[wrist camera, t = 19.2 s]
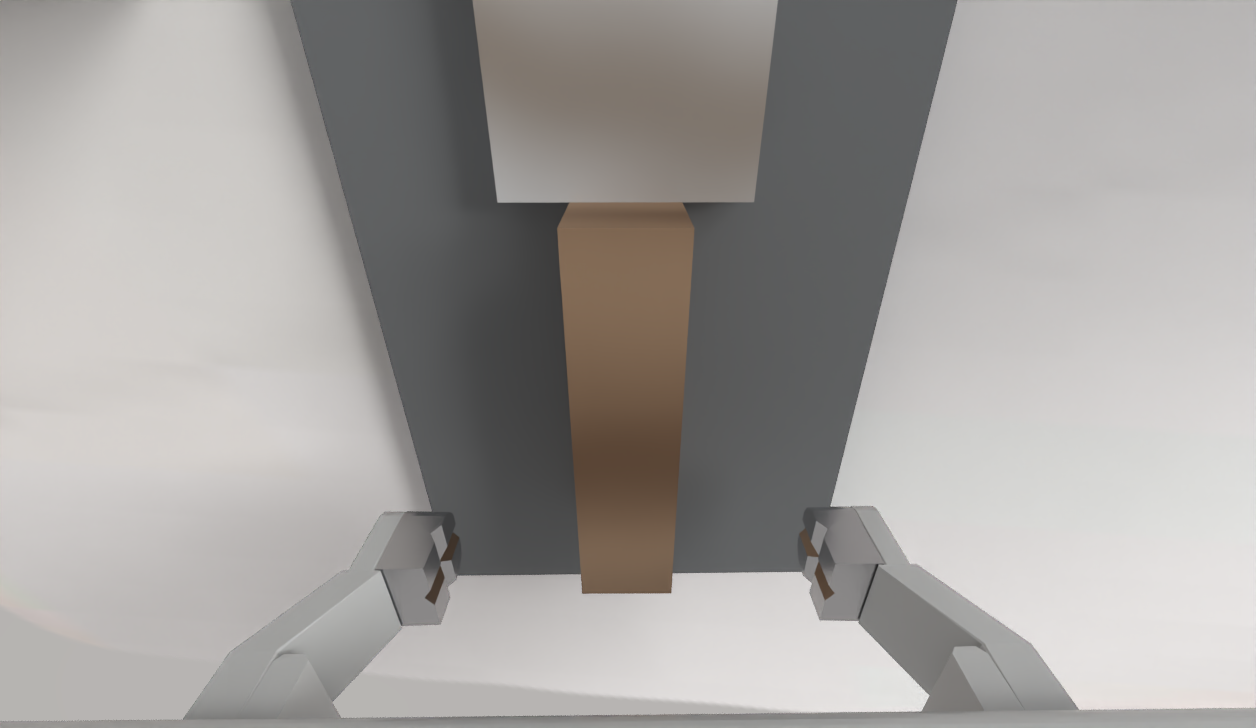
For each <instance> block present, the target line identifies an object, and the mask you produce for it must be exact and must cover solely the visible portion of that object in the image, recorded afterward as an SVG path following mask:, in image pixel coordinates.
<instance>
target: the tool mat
mask: <svg viewBox="0 0 1256 728" xmlns="http://www.w3.org/2000/svg"><path fill="white" fill-rule="evenodd" d="M291 4H292V7H293V11H294V14H295V18H296V22H297V25H298V29H299V32H300V36H301V40H302V43H303V47H304V50H305V54H306V58H307V61H308V65H309V68H310V72H311V76H312V79H313V83H314V86H315V90H316V94H317V97H318V101H319V105H320V108H321V112H322V115H323V119H324V123H325V126H326V130H327V133H328V137H329V141H330V144H331V148H332V151H333V155H334V159H335V162H336V166H337V169H338V173H339V177H340V180H341V184H342V187H343V191H344V195H345V198H346V202H347V205H348V209H349V213H350V216H351V220H352V223H353V227H354V231H355V234H356V238H357V242H358V245H359V249H360V252H361V256H362V260H363V263H364V267H365V270H366V274H367V278H368V281H369V285H370V288H371V292H372V296H373V299H374V303H375V306H376V310H377V314H378V317H379V321H380V324H381V328H382V332H383V335H384V339H385V342H386V346H387V350H388V353H389V357H390V360H391V364H392V368H393V371H394V375H395V379H396V382H397V386H398V389H399V393H400V397H401V400H402V404H403V407H404V411H405V415H406V418H407V422H408V425H409V429H410V433H411V436H412V440H413V443H414V447H415V451H416V454H417V458H418V461H419V465H420V469H421V472H422V476H423V479H424V483H425V487H426V490H427V494H428V497H429V501H430V505H431V508H432V512H451V513H453V515H454V519H455V522H456V525H455V527H454V530H453V532H454V533H455V534H456V535H457V536H458V537H459V538H460V542H461V550H462V556H461V564H460V569H459V572H458V575H545V574H581V567H580V552H579V538H578V523H577V509H576V495H575V480H574V466H573V451H572V437H571V422H570V408H569V393H568V379H567V364H566V350H565V335H564V321H563V306H562V292H561V277H560V263H559V248H558V234H557V227H558V225H559V223H560V221H561V219H562V217H563V215H564V213H565V211H566V209H567V206H568V204H569V202H559V203H498V202H497V194H496V186H495V178H494V170H493V162H492V154H491V146H490V138H489V130H488V122H487V113H486V105H485V97H484V89H483V81H482V73H481V65H480V57H479V49H478V41H477V33H476V25H475V16H474V8H473V0H291ZM956 4H957V0H778V4H777V12H776V21H775V29H774V38H773V46H772V55H771V63H770V72H769V80H768V88H767V97H766V105H765V114H764V122H763V131H762V139H761V147H760V156H759V164H758V173H757V181H756V190H755V198H754V202H682V203H683V205H684V207H685V209H686V211H687V213H688V215H689V218H690V220H691V222H692V224H693V226H694V244H693V260H692V275H691V291H690V306H689V322H688V338H687V353H686V369H685V385H684V400H683V416H682V431H681V447H680V463H679V478H678V494H677V510H676V525H675V541H674V556H673V572H672V573H726V572H802V570H801V567H800V564H799V559H798V550H797V543H798V537H799V533H800V532H801V531H803V530H804V529H805V526H804V523H803V520H802V518H803V514H804V511H805V510H806V508H807V507H830V505H831V501H832V497H833V493H834V489H835V485H836V481H837V477H838V473H839V469H840V465H841V461H842V457H843V453H844V449H845V445H846V441H847V437H848V433H849V429H850V425H851V421H852V417H853V413H854V409H855V405H856V401H857V397H858V393H859V389H860V385H861V381H862V377H863V374H864V370H865V366H866V362H867V358H868V354H869V350H870V346H871V342H872V338H873V334H874V330H875V326H876V322H877V318H878V314H879V310H880V306H881V302H882V298H883V294H884V290H885V286H886V282H887V278H888V274H889V270H890V266H891V262H892V258H893V254H894V250H895V246H896V242H897V238H898V234H899V231H900V227H901V223H902V219H903V215H904V211H905V207H906V203H907V199H908V195H909V191H910V187H911V183H912V179H913V175H914V171H915V167H916V163H917V159H918V155H919V151H920V147H921V143H922V139H923V135H924V131H925V127H926V123H927V119H928V115H929V111H930V107H931V103H932V99H933V95H934V92H935V88H936V84H937V80H938V76H939V72H940V68H941V64H942V60H943V56H944V52H945V48H946V44H947V40H948V36H949V32H950V28H951V24H952V20H953V16H954V12H955V8H956Z"/></svg>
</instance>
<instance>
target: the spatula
mask: <svg viewBox="0 0 1256 728" xmlns="http://www.w3.org/2000/svg"><path fill="white" fill-rule="evenodd" d="M777 4H778V0H473V8H474V16H475V25H476V33H477V41H478V49H479V57H480V65H481V73H482V81H483V89H484V97H485V105H486V113H487V122H488V130H489V138H490V146H491V154H492V162H493V170H494V178H495V186H496V194H497V202H498V203H559V202H569V204H568V206H567V209H566V211H565V213H564V215H563V217H562V219H561V221H560V223H559V225H558V227H557V234H558V248H559V263H560V277H561V292H562V306H563V321H564V335H565V350H566V364H567V379H568V393H569V408H570V422H571V437H572V451H573V466H574V480H575V495H576V509H577V523H578V538H579V552H580V567H581V581H582V594H588V593H671V588H672V572H673V556H674V541H675V525H676V510H677V494H678V478H679V463H680V447H681V431H682V416H683V400H684V385H685V369H686V353H687V338H688V322H689V306H690V291H691V275H692V260H693V244H694V226H693V224H692V222H691V220H690V218H689V215H688V213H687V211H686V209H685V207H684V205H683V203H682V202H754V198H755V190H756V181H757V173H758V164H759V156H760V147H761V139H762V131H763V122H764V114H765V105H766V97H767V88H768V80H769V72H770V63H771V55H772V46H773V38H774V29H775V21H776V12H777Z"/></svg>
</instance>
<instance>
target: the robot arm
mask: <svg viewBox="0 0 1256 728" xmlns="http://www.w3.org/2000/svg"><path fill="white" fill-rule="evenodd" d="M802 520H803V523H804V526H805V529H804V530H803V531H801V532H800V533H799V537H798V543H797V550H798V559H799V564H800V567H801V570H802V573H803V576H804V577H806V578H807V579H808V580H809V581H810V582H811V583H812V585H811V589H810V596H811V598H812V601H813V604H814V606H815V609H816V612H817V614H818V617H819V620H838V621H859V622H858V623H859V624H860V625H861V626H862V627H863V628H864V629H865V630H866V631H867V632H868V633H869V634H870V635H871V636H872V637H873V638H874V639H875V640H876V641H877V642H878V643H879V644H880V645H881V646H882V647H883V648H884V649H885V650H886V652H887V653H888V654H889V655H890V656H891V657H892V658H893V659H894V660H895V661H896V662H897V663H898V664H899V665H900V666H901V667H902V668H903V669H904V670H905V671H906V672H907V673H908V674H909V675H910V676H911V677H912V678H913V679H914V680H915V681H916V682H917V683H918V684H919V685H920V686H921V687H922V688H923V689H924V690H925V691H926V692H927V693H928V694H929V695H930V696H929V698H928V700H927V702H926V704H925V706H924V708H923V710H922V712H838V713H752V714H751V713H749V714H664V715H663V714H662V715H661V714H660V715H579V716H578V715H574V716H486V717H484V716H483V717H390V718H341V717H340V715H339V713H338V712H337V710H336V708H335V706H334V705H333V703H332V702H333V701H334V700H335V699H336V698H337V697H338V696H339V694H340V693H341V692H342V691H343V690H344V689H345V688H346V687H347V686H348V685H349V684H350V683H351V681H353V680H354V679H355V678H356V676H357V675H358V674H359V673H360V672H361V671H362V670H363V669H364V668H365V667H366V666H367V665H368V664H369V663H370V662H371V661H372V660H373V658H374V657H375V656H376V655H377V654H378V653H379V652H380V651H381V650H382V649H383V648H384V647H385V646H386V645H387V644H388V643H389V642H390V640H391V639H392V638H393V637H394V636H395V635H396V634H397V633H398V632H399V631H400V630H401V629H402V626H413V625H438V624H441V622H442V619H443V616H444V613H445V611H446V608H447V605H448V602H449V599H450V594H449V591H448V586H449V585H450V584H452V583H453V582H454V581H455V580H456V579H457V575H458V572H459V569H460V564H461V556H462V550H461V542H460V538H459V537H458V536H457V535H456V534H455V533H454V532H453V530H454V527H455V525H456V522H455V519H454V515H453V513H451V512H413V511H407V512H384V513H383V514H382V515H381V516H380V517H379V518H378V520H377V522H376V524H375V525H374V527H373V529H372V531H371V532H370V534H369V536H368V537H367V539H366V541H365V543H364V544H363V546H362V548H361V550H360V551H359V553H358V555H357V557H356V558H355V560H354V562H353V564H352V565H351V567H350V569H349V571H341V572H340V573H338V574H337V575H336V576H334V577H333V578H331V579H330V580H329V581H327V582H326V583H324V584H323V585H322V586H320V587H319V588H318V589H316V590H315V591H313V592H312V593H311V594H309V595H308V596H307V597H305V598H304V599H302V600H301V601H300V602H298V603H297V604H296V605H294V606H293V607H291V608H290V609H289V610H287V611H286V612H285V613H283V614H282V615H280V616H279V617H278V618H276V619H275V620H273V621H272V622H271V623H269V624H268V625H267V626H265V627H264V628H262V629H261V630H260V631H258V632H257V633H256V634H254V635H253V636H251V637H250V638H249V639H247V640H246V641H245V642H243V643H242V644H240V645H239V646H238V647H236V648H235V649H234V650H232V651H231V652H230V653H229V654H228V655H227V657H226V658H225V660H224V661H223V663H222V664H221V665H220V667H219V668H218V670H217V671H216V673H215V674H214V675H213V677H212V678H211V680H210V681H209V683H208V684H207V685H206V687H205V688H204V690H203V691H202V693H201V694H200V696H199V697H198V698H197V700H196V701H195V703H194V704H193V706H192V707H191V708H190V710H189V711H188V713H187V714H186V715H185V717H184V718H183V720H101V721H100V720H99V721H0V728H1256V708H1197V709H1112V710H1079V709H1078V707H1077V706H1076V705H1075V703H1074V702H1073V701H1072V699H1071V698H1070V696H1069V695H1068V694H1067V692H1066V691H1065V689H1064V688H1063V687H1062V685H1061V684H1060V683H1059V681H1058V680H1057V678H1056V677H1055V676H1054V674H1053V673H1052V672H1051V670H1050V669H1049V667H1048V666H1047V665H1046V663H1045V662H1044V660H1043V659H1042V658H1041V656H1040V655H1039V654H1038V652H1037V651H1036V649H1035V648H1034V647H1033V645H1032V644H1031V643H1029V642H1028V641H1026V640H1025V639H1023V638H1022V637H1021V636H1019V635H1018V634H1016V633H1015V632H1013V631H1012V630H1011V629H1009V628H1008V627H1006V626H1005V625H1003V624H1002V623H1001V622H999V621H998V620H996V619H995V618H993V617H992V616H990V615H989V614H988V613H986V612H985V611H983V610H982V609H980V608H979V607H978V606H976V605H975V604H973V603H972V602H970V601H969V600H968V599H966V598H965V597H963V596H962V595H960V594H959V593H957V592H956V591H955V590H953V589H952V588H950V587H949V586H947V585H946V584H945V583H943V582H942V581H940V580H939V579H937V578H936V577H935V576H933V575H932V574H930V573H929V572H927V571H926V570H924V569H923V568H922V567H920V566H919V565H917V564H910V563H909V561H908V560H907V558H906V556H905V555H904V553H903V551H902V550H901V548H900V546H899V545H898V543H897V541H896V540H895V538H894V536H893V535H892V533H891V531H890V530H889V528H888V526H887V525H886V523H885V521H884V520H883V518H882V516H881V515H880V513H879V511H878V510H877V509H876V508H875V507H873V506H852V507H807V508H806V510H805V511H804V514H803V518H802Z"/></svg>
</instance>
